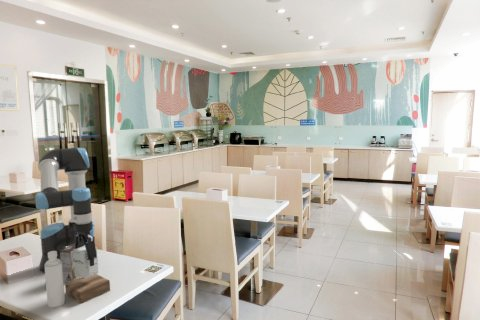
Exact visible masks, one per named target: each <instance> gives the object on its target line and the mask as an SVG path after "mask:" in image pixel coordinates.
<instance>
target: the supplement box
mask: <svg viewBox="0 0 480 320" xmlns="http://www.w3.org/2000/svg"><path fill="white" fill-rule="evenodd" d="M95 248H96V254H97V255H98V247H97V246H95ZM73 251H74V265H75V276H79V277H80V278H81V277H82V278H85V279H86V278H88V277H91V276H93V275H95V274H97V275H98V274H99V263H98V259H99V258H98V256H97V257H96V258H94V268H95V271H94V272H92V273H88V262H87V259H88V255H87V251H86V248H85V245H84V246H82V247H79V248H77V249H74V250H73Z"/></svg>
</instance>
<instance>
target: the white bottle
mask: <svg viewBox="0 0 480 320" xmlns="http://www.w3.org/2000/svg"><path fill="white" fill-rule="evenodd" d="M48 258H49V260H48V261H47V262H46V263H45V264H44V266H45V272H44V274H45V275H44V277H45V287H46V298H47V299H46V301H47V306H48V308H58V307H61V306H62V305H64V304H65V302H66V298H65V297H66V296H65V295H66V294H65V282H63V270H62V262H61V260H60V259H57V251H51V252H48Z"/></svg>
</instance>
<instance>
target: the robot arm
mask: <svg viewBox="0 0 480 320" xmlns="http://www.w3.org/2000/svg"><path fill="white" fill-rule="evenodd" d="M37 168H38V172H40V192H39V193H38V192H37V193H36V194H35V195H34V197H35V208H36V209H37V210H49V209H57V208H65V207H70V219H68V224H65V223H64V222H53V223H51V224H48V225H46V226H44V227H41V230H40V237H39V239H40V243H41V244H40V245H41V258H40V262H39V265H38V266H39V271H40V272H42V273H45V266H44V264H45V263H46V262H47V261H48V260H49V258H48V252H51V251H57V259H60V251H61V250H63V249H65V248H66V247H68V246H70V245H75V249H77V248H79V247H82V246H84V245H85V248H86V251H87V255H88V259H87V262H88V273H92V272H94V271H95V268H94V258H96V257H97V258H98V253H97V254H96V248H95V247H96V243H95V221H93V212H92V198H91V197H92V196H91V195H92V194H91V190H90V188H89V187H87V186H86V176H85V174H86V173H87V172H88V169H89V168H90V159H89V154H88V152H87V149H86V148H84V147H69V148H54V149H51V150H49V151H47V152H46V153H44V154H43V155H42V156H41V157H40V159H39V161H38V167H37ZM59 170H60V171H61V170H64V171H63V172H64V173H65V174H66V175H67V181H68V190H59V177H58V171H59Z"/></svg>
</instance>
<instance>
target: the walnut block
mask: <svg viewBox="0 0 480 320" xmlns="http://www.w3.org/2000/svg"><path fill="white" fill-rule="evenodd" d="M110 281H111V280H110V279H107V278H106V277H103V276H101V275H99V274H98V273H97V274H95V275H93V276H91V277H88V278H86V279H85V278H82V277H80V278H78V279H76V280H73V281H71V282H64V290H65V295H67V296H69V297H71V298H72V299H73V300H75V301H76V302H79V303H80V304H83V303H85V302H87V301H90V300H93V299H94V298H97V297H99V296H101V295H103V294H106V293H108V292H110V291H111V284H110V283H111V282H110Z"/></svg>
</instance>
